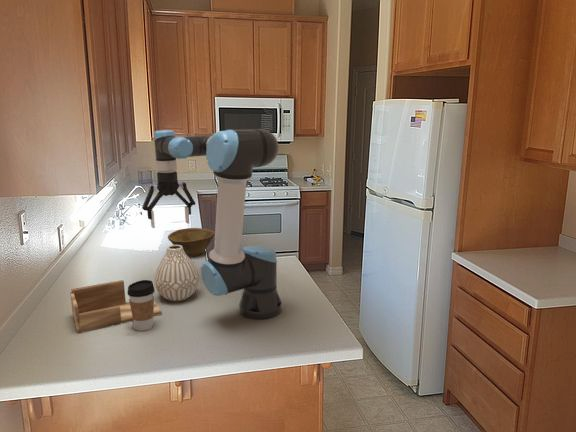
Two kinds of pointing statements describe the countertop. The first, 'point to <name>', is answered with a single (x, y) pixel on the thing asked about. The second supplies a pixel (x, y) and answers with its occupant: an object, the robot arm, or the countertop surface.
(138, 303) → the coffee cup
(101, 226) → the countertop surface
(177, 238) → the bowl
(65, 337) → the countertop surface
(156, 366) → the countertop surface
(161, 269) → the vase
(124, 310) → the shelf
